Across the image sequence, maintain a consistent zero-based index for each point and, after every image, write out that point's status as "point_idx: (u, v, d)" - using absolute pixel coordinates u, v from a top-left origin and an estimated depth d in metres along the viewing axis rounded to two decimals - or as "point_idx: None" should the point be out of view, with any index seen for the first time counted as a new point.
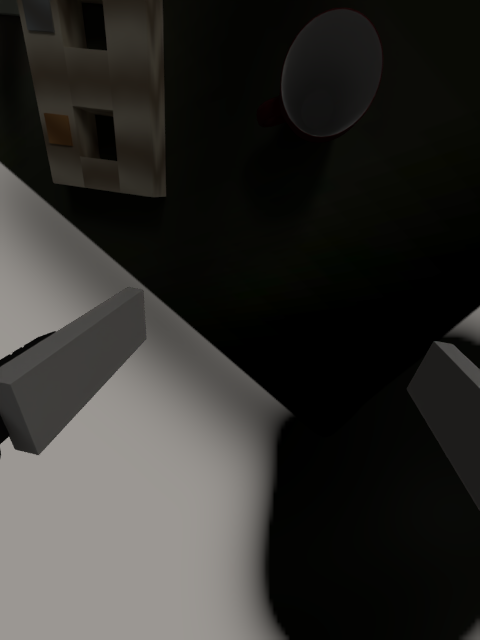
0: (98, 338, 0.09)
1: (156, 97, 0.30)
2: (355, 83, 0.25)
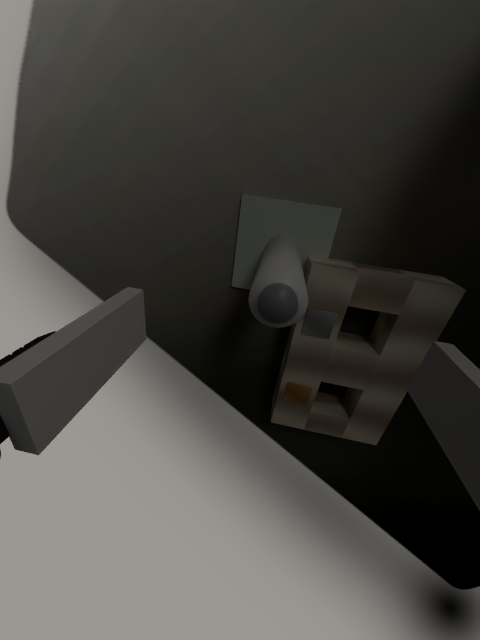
0: (97, 338, 0.09)
1: None
2: None
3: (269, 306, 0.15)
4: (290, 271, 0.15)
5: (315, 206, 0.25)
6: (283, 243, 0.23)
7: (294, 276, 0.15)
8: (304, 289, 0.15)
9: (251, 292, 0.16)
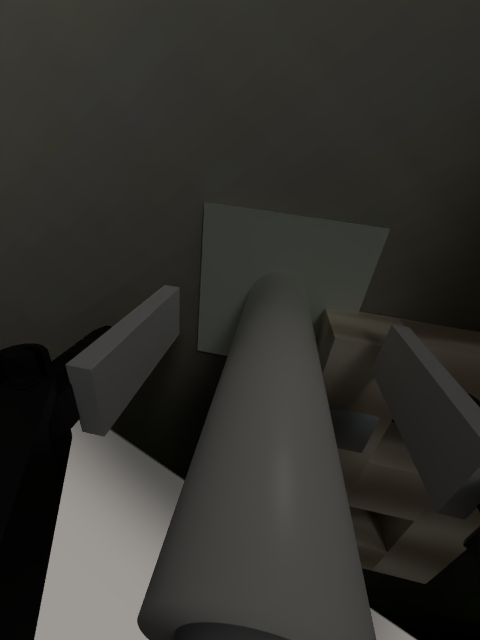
0: (147, 331, 0.10)
1: None
2: None
3: None
4: (303, 548, 0.04)
5: (339, 224, 0.14)
6: (279, 306, 0.11)
7: (325, 613, 0.03)
8: None
9: (144, 619, 0.04)
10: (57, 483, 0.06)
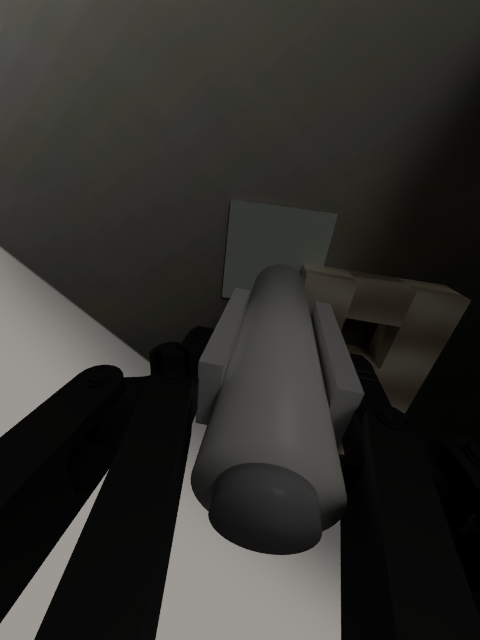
0: (237, 331, 0.11)
1: None
2: None
3: (241, 524, 0.06)
4: (299, 423, 0.06)
5: (309, 212, 0.24)
6: (282, 290, 0.13)
7: (311, 451, 0.05)
8: (338, 485, 0.05)
9: (196, 471, 0.06)
10: (182, 477, 0.07)
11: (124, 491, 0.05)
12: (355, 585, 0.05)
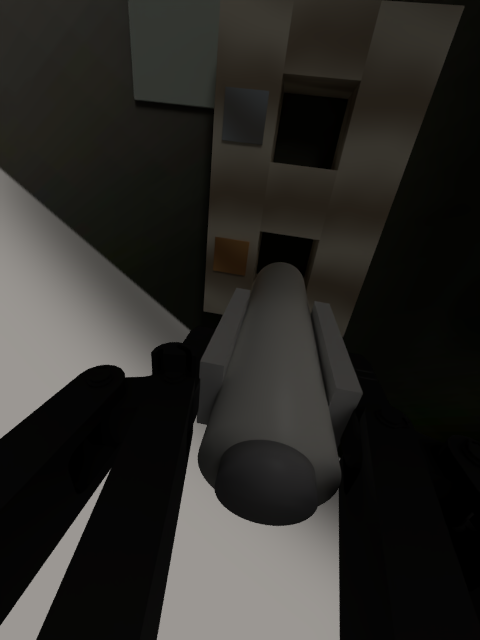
0: (238, 331, 0.11)
1: None
2: None
3: (244, 495, 0.06)
4: (298, 405, 0.06)
5: None
6: (282, 286, 0.13)
7: (309, 428, 0.06)
8: (333, 459, 0.06)
9: (203, 449, 0.06)
10: (183, 477, 0.07)
11: (126, 491, 0.05)
12: (353, 584, 0.05)
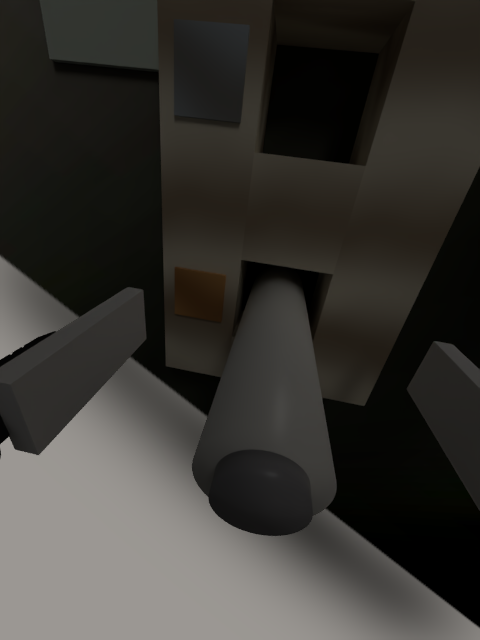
0: (97, 338, 0.09)
1: None
2: None
3: (239, 506, 0.06)
4: (293, 414, 0.06)
5: None
6: (280, 290, 0.13)
7: (303, 438, 0.06)
8: (328, 470, 0.06)
9: (197, 458, 0.06)
10: None
11: None
12: None
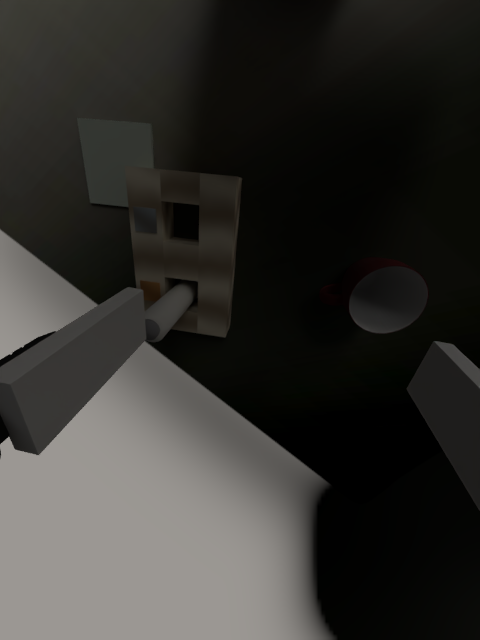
0: (97, 337, 0.09)
1: (232, 268, 0.37)
2: (399, 277, 0.32)
3: None
4: (155, 312, 0.29)
5: (131, 123, 0.32)
6: (177, 288, 0.36)
7: (155, 315, 0.29)
8: (161, 322, 0.29)
9: None
10: None
11: None
12: None
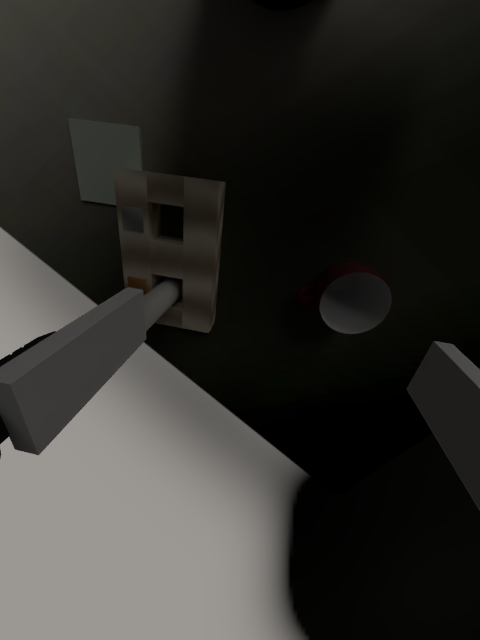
0: (98, 337, 0.09)
1: (215, 268, 0.39)
2: (370, 282, 0.34)
3: None
4: None
5: (120, 125, 0.34)
6: (163, 284, 0.38)
7: None
8: None
9: None
10: None
11: None
12: None
